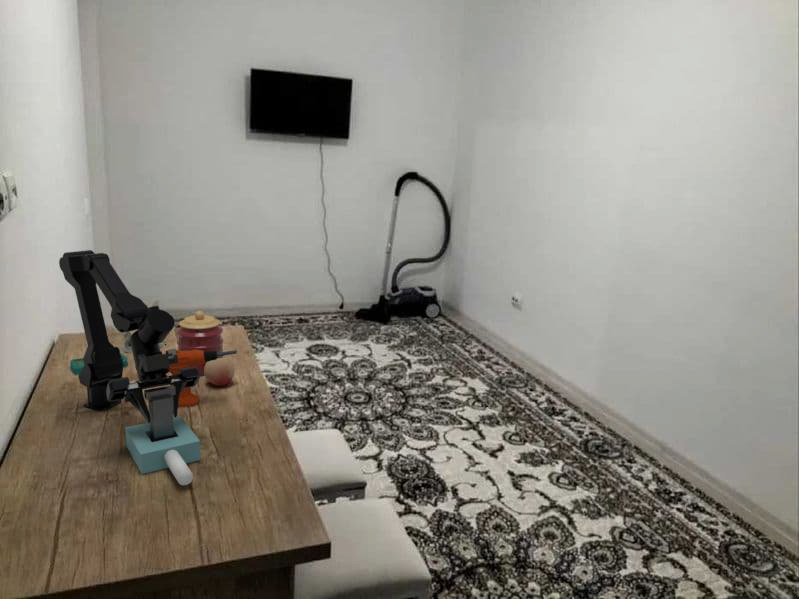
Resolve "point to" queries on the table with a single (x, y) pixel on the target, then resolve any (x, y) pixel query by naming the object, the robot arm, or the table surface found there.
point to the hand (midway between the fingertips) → (162, 419)
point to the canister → (200, 335)
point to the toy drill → (192, 360)
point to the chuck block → (164, 450)
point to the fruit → (219, 371)
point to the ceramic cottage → (128, 334)
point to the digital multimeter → (79, 364)
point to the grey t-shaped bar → (160, 412)
